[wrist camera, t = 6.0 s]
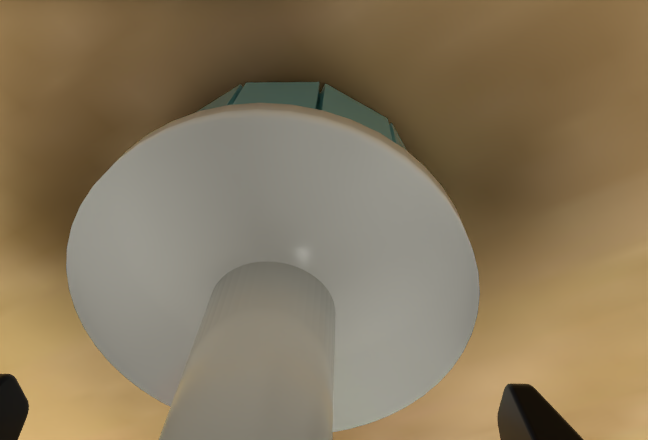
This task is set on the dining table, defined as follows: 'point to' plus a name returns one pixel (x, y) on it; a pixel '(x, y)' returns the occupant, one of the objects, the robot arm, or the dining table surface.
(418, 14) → the dining table surface
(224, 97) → the bowl
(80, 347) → the dining table surface
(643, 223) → the dining table surface
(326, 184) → the lid
